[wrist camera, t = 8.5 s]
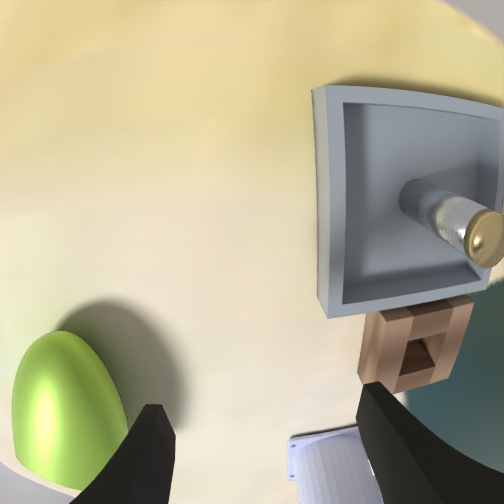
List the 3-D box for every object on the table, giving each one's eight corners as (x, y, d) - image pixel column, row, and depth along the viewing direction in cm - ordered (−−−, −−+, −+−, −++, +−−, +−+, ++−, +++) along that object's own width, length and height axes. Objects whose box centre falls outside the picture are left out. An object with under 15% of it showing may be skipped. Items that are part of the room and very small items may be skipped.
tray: (467, 273, 20) (486, 288, 17) (316, 295, 19) (327, 318, 17) (481, 107, 15) (507, 109, 13) (311, 89, 15) (324, 85, 12)
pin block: (432, 354, 22) (448, 377, 20) (357, 372, 22) (369, 399, 20) (451, 281, 20) (474, 302, 17) (368, 295, 20) (386, 321, 17)
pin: (430, 216, 17) (505, 265, 11) (397, 219, 17) (469, 272, 11) (432, 178, 16) (514, 213, 10) (399, 178, 16) (479, 215, 10)
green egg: (106, 529, 18) (122, 425, 13) (3, 465, 18) (-37, 313, 13) (131, 477, 26) (169, 348, 20) (37, 423, 26) (34, 274, 20)
